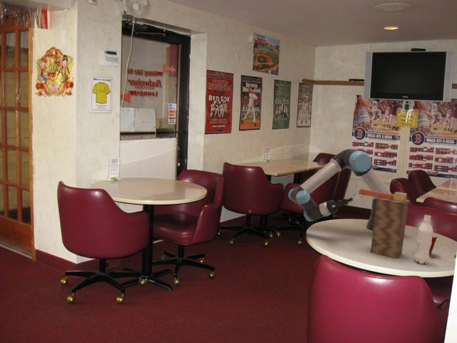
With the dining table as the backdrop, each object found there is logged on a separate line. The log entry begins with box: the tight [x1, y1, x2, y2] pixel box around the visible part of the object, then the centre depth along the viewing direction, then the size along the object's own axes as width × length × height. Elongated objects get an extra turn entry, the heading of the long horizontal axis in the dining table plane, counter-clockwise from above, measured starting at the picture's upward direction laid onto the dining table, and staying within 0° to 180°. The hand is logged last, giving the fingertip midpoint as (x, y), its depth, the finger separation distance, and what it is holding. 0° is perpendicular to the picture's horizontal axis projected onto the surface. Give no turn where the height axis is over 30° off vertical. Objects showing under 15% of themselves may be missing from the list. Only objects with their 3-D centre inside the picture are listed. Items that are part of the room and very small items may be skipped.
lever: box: [358, 188, 408, 202], centre depth 247 cm, size 24×5×4 cm, turn 56°
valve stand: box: [370, 197, 411, 259], centre depth 246 cm, size 15×11×30 cm
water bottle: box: [414, 214, 434, 265], centre depth 235 cm, size 7×7×25 cm
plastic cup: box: [416, 231, 439, 257], centre depth 250 cm, size 11×11×12 cm
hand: (362, 195), depth 253 cm, fingers open, 13 cm apart
